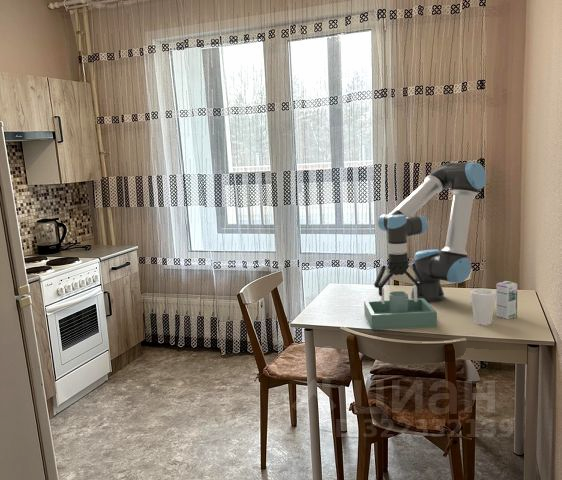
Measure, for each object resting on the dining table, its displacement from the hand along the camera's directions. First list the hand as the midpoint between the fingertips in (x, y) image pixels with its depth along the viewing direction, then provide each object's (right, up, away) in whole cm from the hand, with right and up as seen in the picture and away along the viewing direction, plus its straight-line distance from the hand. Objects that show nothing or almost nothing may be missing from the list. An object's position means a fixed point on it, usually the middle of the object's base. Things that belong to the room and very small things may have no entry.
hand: (399, 302), depth 211 cm
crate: (0, -8, +1) cm, 8 cm away
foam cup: (+32, -8, -8) cm, 34 cm away
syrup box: (+44, -6, -2) cm, 44 cm away
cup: (0, -6, +1) cm, 6 cm away
